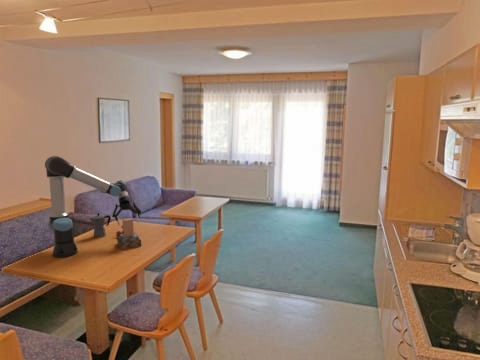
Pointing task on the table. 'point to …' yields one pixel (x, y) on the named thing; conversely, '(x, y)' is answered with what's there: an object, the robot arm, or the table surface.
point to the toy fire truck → (119, 232)
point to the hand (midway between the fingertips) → (128, 223)
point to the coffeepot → (99, 225)
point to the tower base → (129, 245)
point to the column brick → (128, 227)
